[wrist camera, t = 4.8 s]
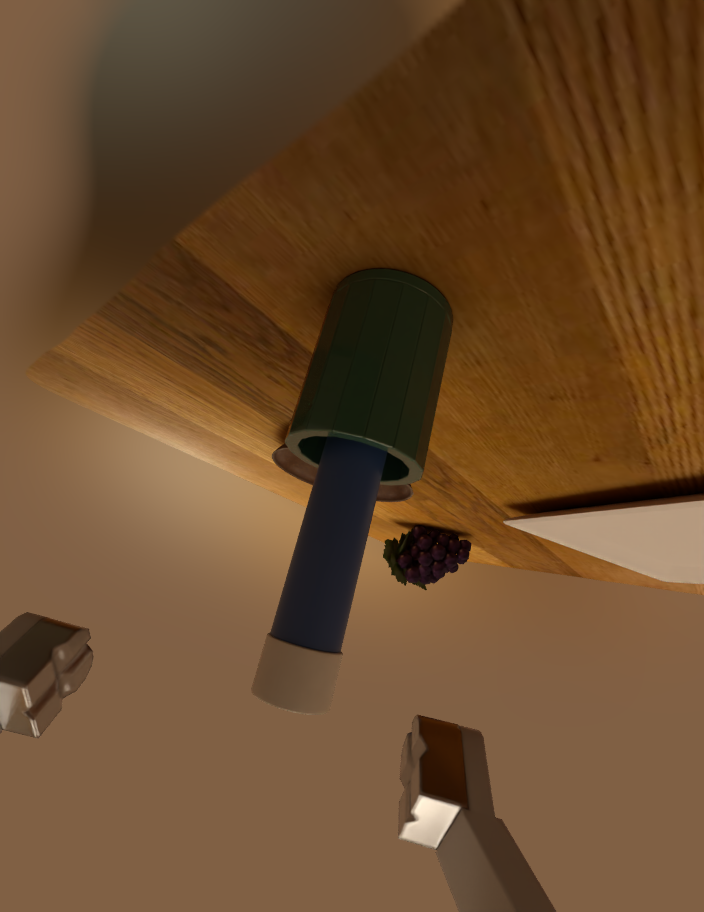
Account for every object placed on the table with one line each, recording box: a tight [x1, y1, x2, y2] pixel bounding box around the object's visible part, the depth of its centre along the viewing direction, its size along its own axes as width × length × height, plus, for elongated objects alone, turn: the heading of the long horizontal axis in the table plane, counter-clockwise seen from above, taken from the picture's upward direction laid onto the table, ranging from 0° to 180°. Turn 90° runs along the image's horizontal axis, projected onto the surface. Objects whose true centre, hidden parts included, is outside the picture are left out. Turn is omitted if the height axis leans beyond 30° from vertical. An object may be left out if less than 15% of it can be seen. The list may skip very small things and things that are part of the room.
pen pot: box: [285, 269, 453, 486], centre depth 20 cm, size 6×6×8 cm
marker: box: [251, 437, 387, 715], centre depth 18 cm, size 3×3×17 cm
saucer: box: [272, 443, 413, 502], centre depth 43 cm, size 15×15×3 cm
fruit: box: [383, 525, 471, 590], centre depth 67 cm, size 10×11×15 cm
